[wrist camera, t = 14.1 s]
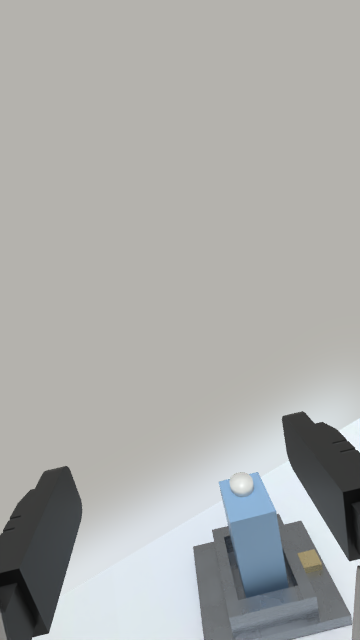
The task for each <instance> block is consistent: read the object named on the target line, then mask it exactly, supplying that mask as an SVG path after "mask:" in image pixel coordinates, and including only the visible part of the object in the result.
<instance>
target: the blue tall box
mask: <svg viewBox="0 0 360 640" xmlns="http://www.w3.org/2000/svg"><path fill="white" fill-rule="evenodd" d="M219 485H220V489H221V495H222V499H223V504H224V508H225V513H226V518H227V522H228V527H229V531H230V536H231V540H232V545H233V550H234V554H235V559H236V562H237V566H238V570H239V574H240V578H241V582H242V585H243V589H244V593H245V597H246V598H249V597H253V596H257V595H261V594H265V593H269V592H273V591H277V590H281V589H285V588H289V586H288V580H287V574H286V568H285V562H284V556H283V550H282V544H281V538H280V532H279V526H278V520H277V514H276V510H275V508H274V506H273V503H272V501H271V499H270V497H269V495H268V493H267V491H266V488H265V486H264V484H263V482H262V480H261V478H260V476H259V473H258V472H256V473H252V474H247V473H241V472H240V473H236V474H234V475H233V476H232V477H231V478H230V479H228V480H224V481H220V482H219Z"/></svg>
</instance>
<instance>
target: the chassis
mask: <svg viewBox="0 0 360 640" xmlns="http://www.w3.org/2000/svg"><path fill="white" fill-rule="evenodd" d="M277 520H278V526H279V532H280V538H281V544H282V550H283V556H284V562H285V568H286V574H287V580H288V586H289V588H285V589H281V590H277V591H273V592H269V593H265V594H261V595H257V596H253V597H249V598H246V597H245V593H244V589H243V585H242V582H241V578H240V574H239V570H238V566H237V562H236V559H235V554H234V550H233V545H232V540H231V536H230V531H229V527H228V526H227V527H223V528H218V529H214V530H212V532H213V537H214V542H211V543H207V544H202V545H198V546H194V547H193V549H194V557H195V566H196V574H197V583H198V591H199V600H200V608H201V616H202V625H203V633H204V640H291V639H295V638H299V637H303V636H307V635H311V634H315V633H319V632H323V631H327V630H331V629H335V628H339V627H343V626H347V625H351V624H352V620H351V614H350V612H349V610H348V609H347V607H346V605H345V603H344V601H343V599H342V597H341V595H340V593H339V591H338V590H337V588H336V586H335V584H334V582H333V580H332V578H331V576H330V574H329V572H328V571H327V569H326V567H325V565H324V563H323V561H322V559H321V557H320V555H319V553H318V552H317V550H316V548H315V546H314V544H313V542H312V540H311V538H310V536H309V535H308V533H307V531H306V529H305V527H304V525H303V523H302V521H298V522H294V523H289V524H285V525H284V524H283V522H282V520H281V517H280V515H279V514H277Z"/></svg>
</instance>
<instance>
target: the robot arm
mask: <svg viewBox="0 0 360 640" xmlns="http://www.w3.org/2000/svg"><path fill="white" fill-rule="evenodd" d="M282 423H283V430H284V437H285V443H286V450H287V455H288V458H289V461H290V464H291V466H292V468H293V470H294V472H295V473H296V475H297V477H298V478H299V480H300V482H301V483H302V485H303V487H304V488H305V490H306V491H307V493H308V495H309V496H310V498H311V500H312V501H313V503H314V504H315V506H316V508H317V509H318V511H319V513H320V514H321V516H322V518H323V519H324V521H325V522H326V524H327V526H328V527H329V529H330V531H331V532H332V534H333V536H334V537H335V539H336V540H337V542H338V544H339V545H340V547H341V549H342V550H343V552H344V553H345V555H346V557H347V558H348V560H349V561H353V560H357V559H360V453H359V451H358V450H355V447H354V446H353V445H352V444H351V443H350V442H349V441H348V442H347V440H346V438H345V437H344V436H343V435H342V434H341V433H340V432H339V431H338V430H336V429H335V428H333V427H331V426H329V425H327V424H325V423H323V422H320V423H316V424H315V423H314V422H313V421H312V420H311V419H310V418H309V417H308V416H307V415H306V413H304V412H303V411H302V412H298V413H294V414H289V415H285V416H283V417H282ZM81 516H82V503H81V499H80V496H79V493H78V491H77V488H76V485H75V482H74V480H73V477H72V474H71V471H70V469H69V468H68V467H67V466H65V467H60V468H56V469H52V470H47V471H45V472H44V473H43V474H42V476H41V478H40V480H39V482H38V484H37V486H36V488H35V489H32V490H30V491H29V492H28V493H27V494H26V495H25V496H24V497H23V499H22V500H21V501H20V502H19V503H18V504H17V506H16V508H15V510H14V511H13V513H12V515H11V517H10V521H8V522H7V524H6V526H5V528H4V530H3V533H2V534H1V535H0V640H32V637H36V636H40V635H44V634H48V633H49V631H50V627H51V624H52V620H53V617H54V613H55V610H56V606H57V603H58V599H59V596H60V592H61V588H62V585H63V581H64V578H65V574H66V571H67V567H68V564H69V561H70V556H71V553H72V550H73V546H74V543H75V539H76V535H77V532H78V529H79V525H80V522H81ZM352 640H360V566H358V567H357V573H356V586H355V600H354V615H353V629H352Z"/></svg>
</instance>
